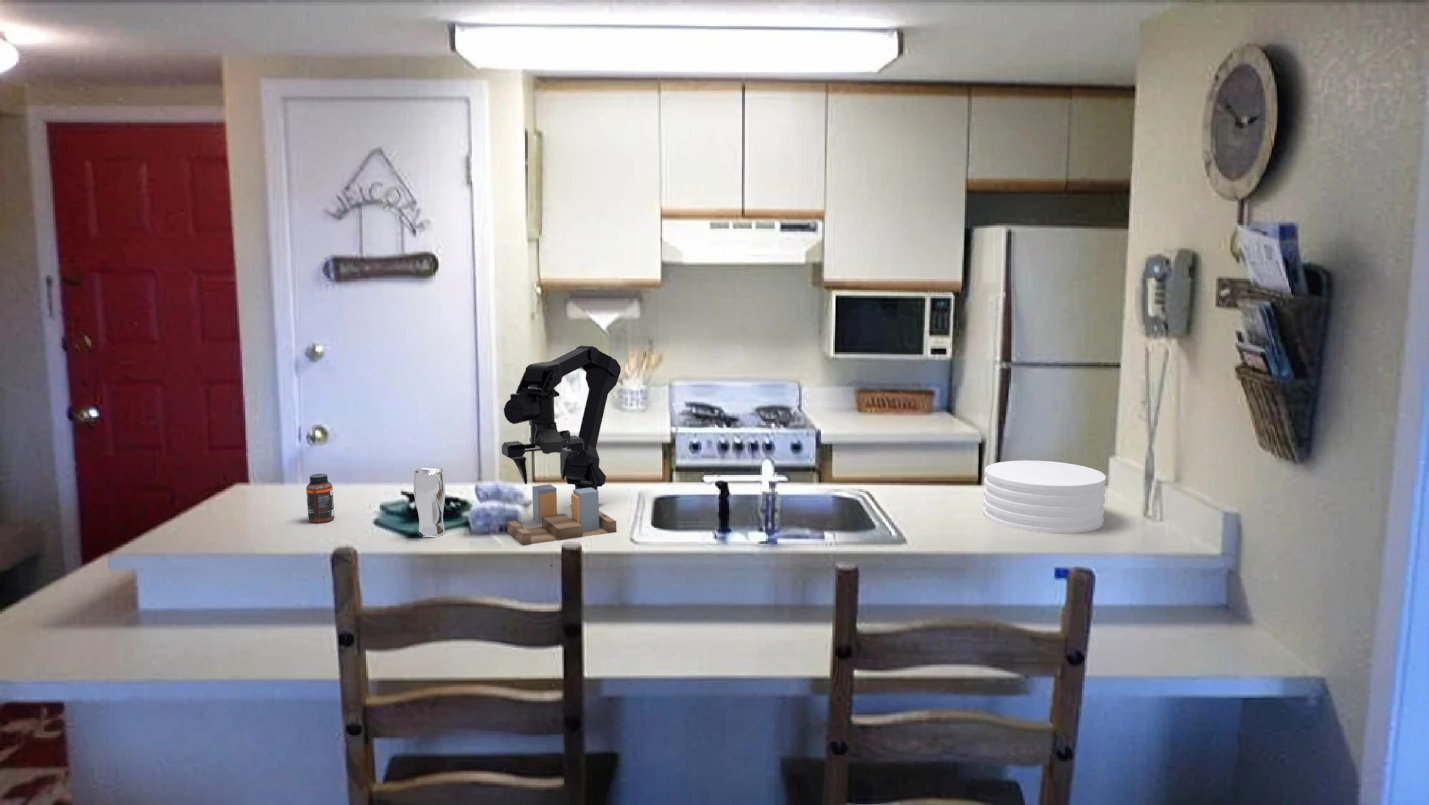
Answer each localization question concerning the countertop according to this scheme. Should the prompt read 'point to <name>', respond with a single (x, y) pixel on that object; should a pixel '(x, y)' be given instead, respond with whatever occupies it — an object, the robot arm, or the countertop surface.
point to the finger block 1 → (544, 501)
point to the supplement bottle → (320, 499)
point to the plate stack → (1044, 496)
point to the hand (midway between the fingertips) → (544, 481)
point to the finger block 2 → (586, 508)
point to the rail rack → (558, 529)
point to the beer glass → (430, 500)
